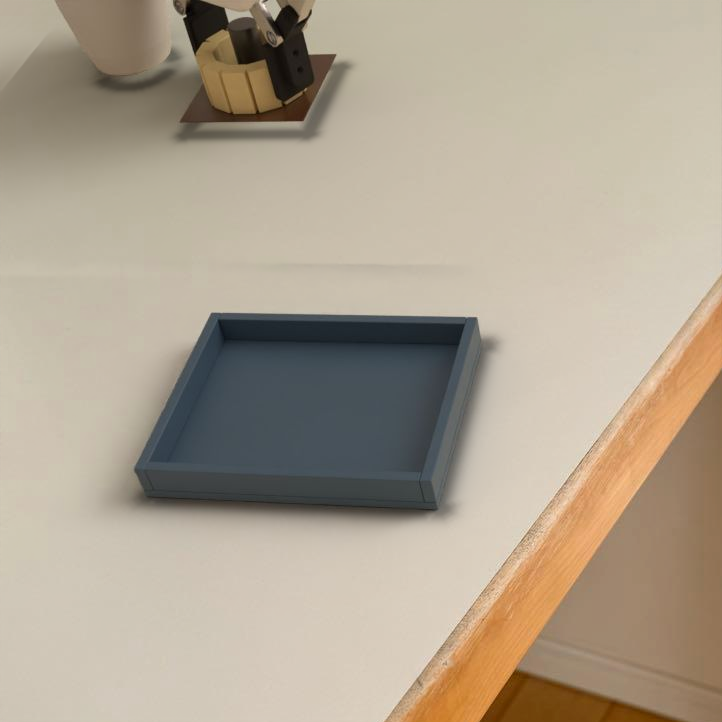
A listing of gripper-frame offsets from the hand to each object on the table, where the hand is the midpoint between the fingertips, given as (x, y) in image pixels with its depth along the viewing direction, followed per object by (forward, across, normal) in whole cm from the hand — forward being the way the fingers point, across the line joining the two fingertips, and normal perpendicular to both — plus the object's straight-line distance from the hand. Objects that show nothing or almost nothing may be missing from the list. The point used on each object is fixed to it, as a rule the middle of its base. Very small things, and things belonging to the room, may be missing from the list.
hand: (256, 75), depth 87 cm
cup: (+2, -12, -2) cm, 13 cm away
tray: (+2, +27, -21) cm, 35 cm away
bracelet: (+1, 0, 0) cm, 1 cm away
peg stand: (+2, 0, 0) cm, 2 cm away
